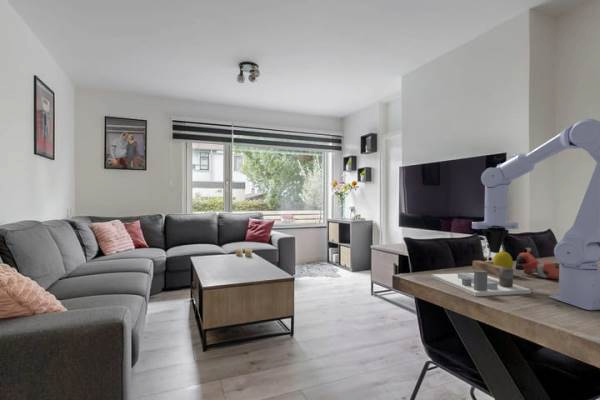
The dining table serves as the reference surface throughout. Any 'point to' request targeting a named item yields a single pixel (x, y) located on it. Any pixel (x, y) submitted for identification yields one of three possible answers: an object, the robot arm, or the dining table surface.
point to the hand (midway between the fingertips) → (494, 252)
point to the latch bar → (496, 272)
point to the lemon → (503, 259)
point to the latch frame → (479, 284)
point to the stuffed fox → (536, 266)
